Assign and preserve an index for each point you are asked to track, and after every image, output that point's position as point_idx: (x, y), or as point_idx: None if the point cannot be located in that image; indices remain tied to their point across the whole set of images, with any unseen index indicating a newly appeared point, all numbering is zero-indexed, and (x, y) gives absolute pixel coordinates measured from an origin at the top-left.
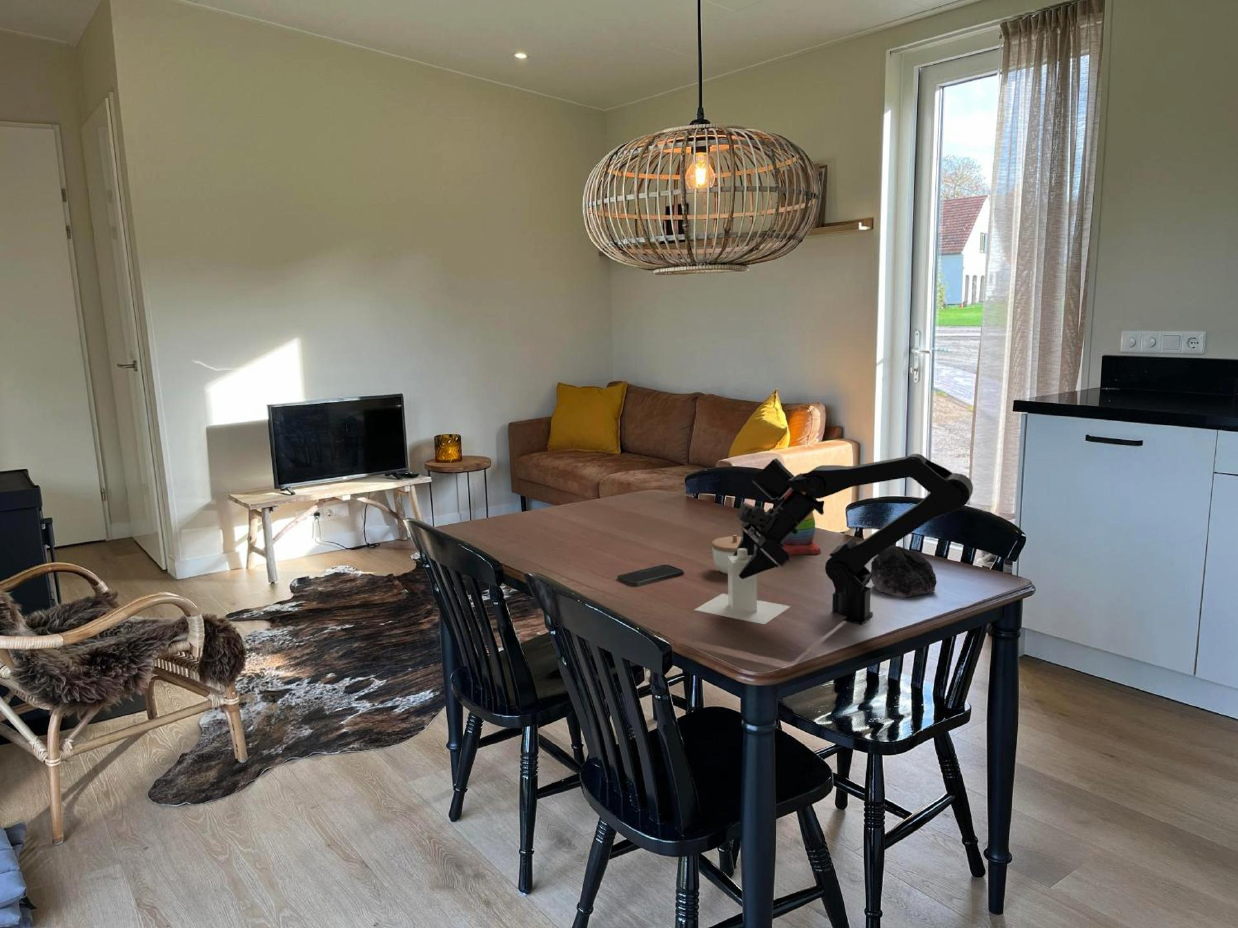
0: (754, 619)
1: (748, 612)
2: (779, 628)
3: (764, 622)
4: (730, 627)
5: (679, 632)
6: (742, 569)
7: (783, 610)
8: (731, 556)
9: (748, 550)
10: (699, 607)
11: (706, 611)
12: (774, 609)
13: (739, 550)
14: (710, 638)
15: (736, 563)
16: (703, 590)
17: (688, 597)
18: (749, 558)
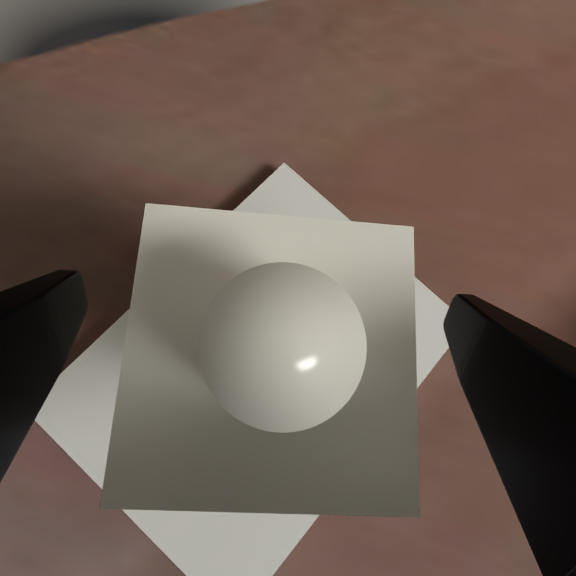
0: (100, 377)
1: None
2: (23, 478)
3: (46, 414)
4: (104, 269)
5: (110, 84)
6: (36, 292)
7: (183, 563)
8: (393, 259)
9: (572, 516)
10: (306, 188)
11: (252, 203)
12: (208, 517)
13: (240, 285)
14: (13, 168)
15: (140, 249)
16: (554, 272)
17: (475, 197)
18: (274, 446)
